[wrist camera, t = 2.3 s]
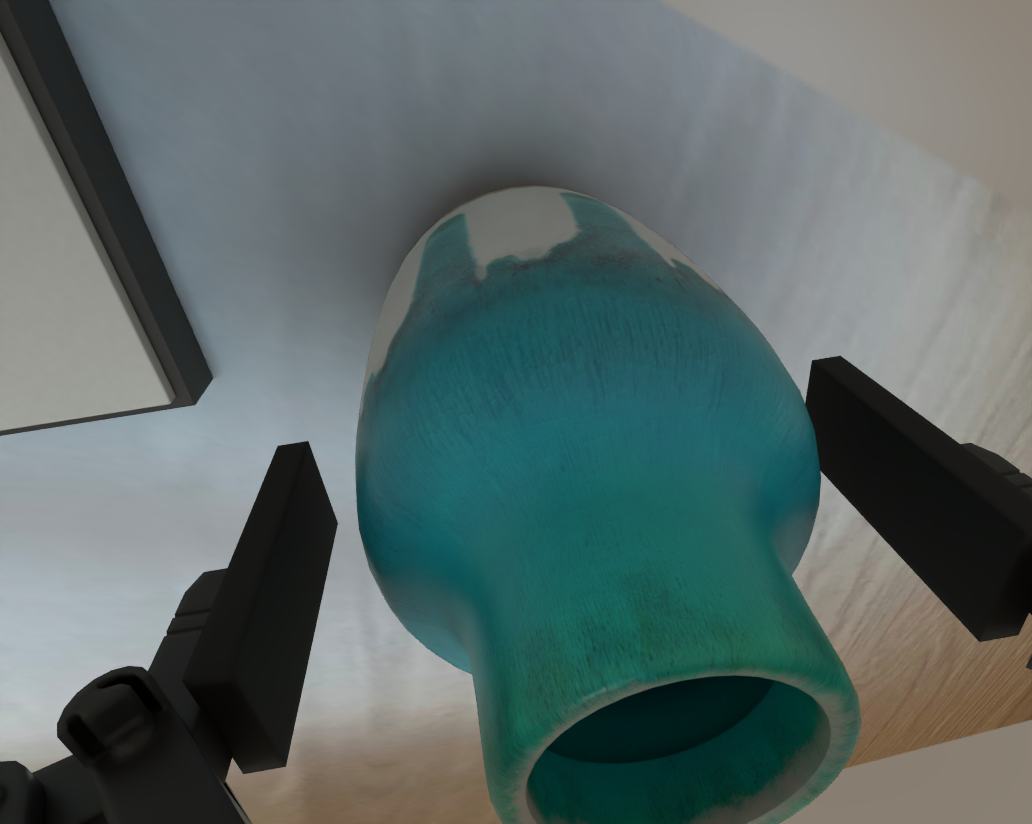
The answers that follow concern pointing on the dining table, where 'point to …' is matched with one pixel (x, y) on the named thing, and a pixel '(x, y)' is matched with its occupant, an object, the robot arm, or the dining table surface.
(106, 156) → the scale
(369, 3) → the dining table surface
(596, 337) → the vase
